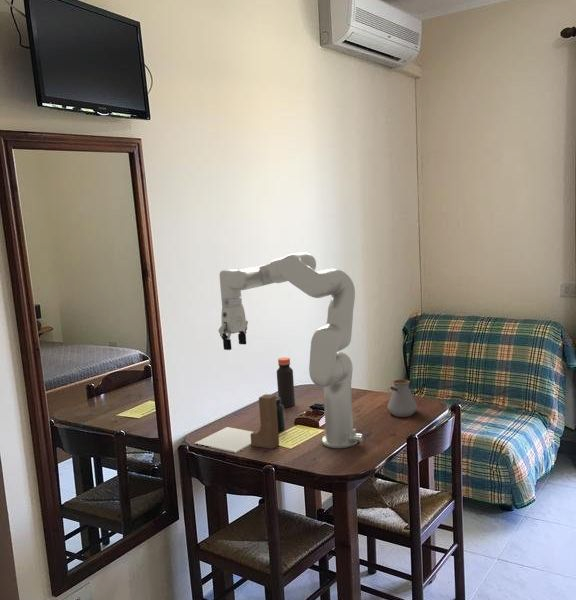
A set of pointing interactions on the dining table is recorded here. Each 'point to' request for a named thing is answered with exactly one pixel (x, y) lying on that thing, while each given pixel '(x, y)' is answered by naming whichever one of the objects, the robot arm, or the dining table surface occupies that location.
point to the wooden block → (267, 424)
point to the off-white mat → (228, 440)
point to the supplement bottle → (280, 414)
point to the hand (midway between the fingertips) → (235, 346)
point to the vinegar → (285, 382)
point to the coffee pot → (401, 399)
